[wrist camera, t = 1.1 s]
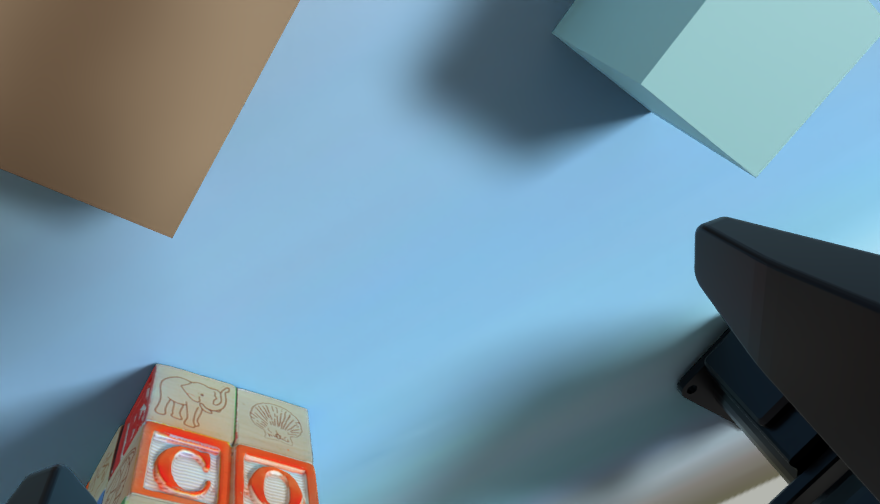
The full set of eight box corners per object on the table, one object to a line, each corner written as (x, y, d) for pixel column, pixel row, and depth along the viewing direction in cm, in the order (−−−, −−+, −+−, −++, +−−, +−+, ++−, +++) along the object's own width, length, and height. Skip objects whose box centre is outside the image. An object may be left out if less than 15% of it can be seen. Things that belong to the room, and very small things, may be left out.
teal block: (749, -12, 23) (889, 25, 18) (651, 111, 25) (756, 177, 20) (653, -110, 21) (783, -99, 16) (551, 32, 22) (640, 84, 17)
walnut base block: (305, -51, 20) (317, -33, 16) (183, 180, 22) (172, 238, 19) (-3, -251, 16) (-69, -280, 13) (-109, 50, 18) (-188, 92, 15)
